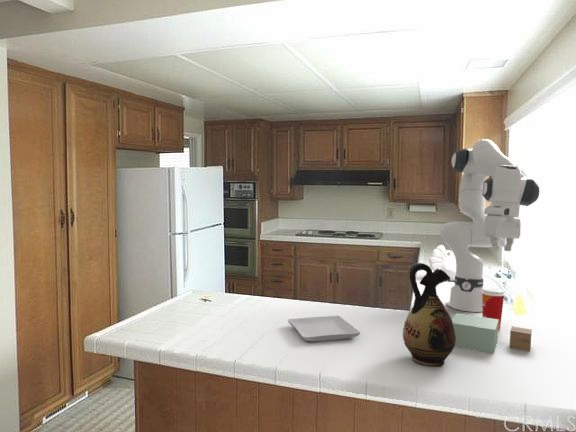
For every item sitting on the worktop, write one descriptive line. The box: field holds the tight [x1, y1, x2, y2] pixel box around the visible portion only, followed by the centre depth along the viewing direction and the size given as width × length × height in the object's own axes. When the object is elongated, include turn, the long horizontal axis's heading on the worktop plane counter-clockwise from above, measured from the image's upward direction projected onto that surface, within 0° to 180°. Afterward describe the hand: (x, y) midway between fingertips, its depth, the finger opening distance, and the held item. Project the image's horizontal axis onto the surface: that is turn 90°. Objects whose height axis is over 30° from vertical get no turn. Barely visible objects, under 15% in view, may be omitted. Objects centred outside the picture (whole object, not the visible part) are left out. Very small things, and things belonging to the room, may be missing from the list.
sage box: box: [451, 312, 499, 354], centre depth 153 cm, size 14×14×8 cm
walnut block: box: [509, 325, 533, 352], centre depth 150 cm, size 6×6×6 cm
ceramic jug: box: [402, 262, 456, 367], centre depth 135 cm, size 17×15×30 cm
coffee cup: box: [481, 287, 506, 331], centre depth 170 cm, size 8×8×15 cm
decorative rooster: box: [428, 244, 456, 282], centre depth 265 cm, size 25×16×25 cm, turn 94°
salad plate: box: [287, 315, 361, 343], centre depth 160 cm, size 21×21×3 cm
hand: (501, 250), depth 154 cm, fingers open, 8 cm apart
